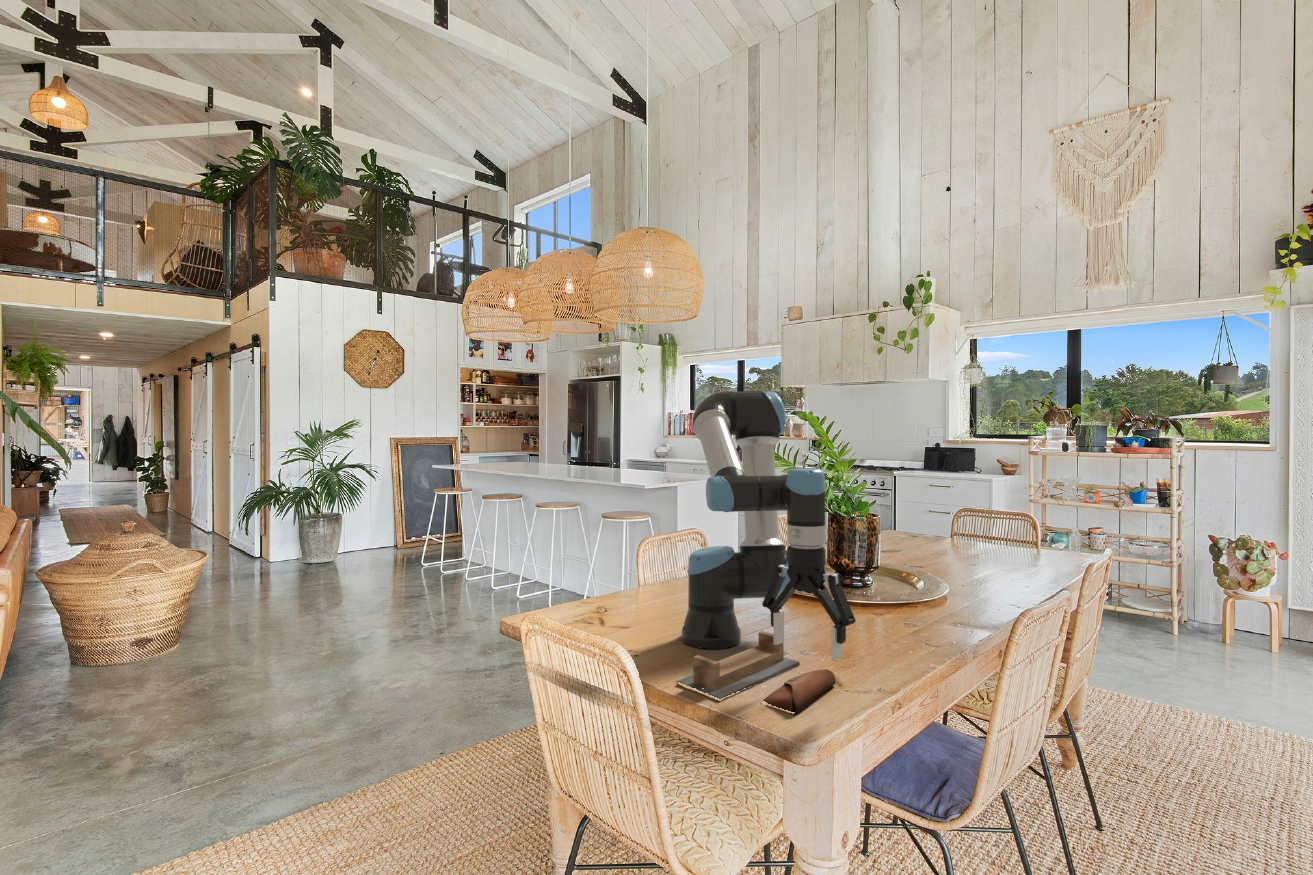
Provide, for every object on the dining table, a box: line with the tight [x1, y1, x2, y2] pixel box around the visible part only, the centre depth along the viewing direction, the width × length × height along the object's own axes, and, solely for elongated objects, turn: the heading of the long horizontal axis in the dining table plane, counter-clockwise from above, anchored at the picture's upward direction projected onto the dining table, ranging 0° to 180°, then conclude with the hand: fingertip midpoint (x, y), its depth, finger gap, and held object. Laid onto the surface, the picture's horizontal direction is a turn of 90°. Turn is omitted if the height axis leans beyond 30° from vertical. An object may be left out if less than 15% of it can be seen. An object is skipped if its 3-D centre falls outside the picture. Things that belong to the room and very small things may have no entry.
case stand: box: [676, 630, 801, 699], centre depth 146 cm, size 12×28×6 cm, turn 134°
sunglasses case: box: [762, 668, 837, 715], centre depth 135 cm, size 18×7×7 cm
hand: (806, 650), depth 133 cm, fingers open, 13 cm apart
